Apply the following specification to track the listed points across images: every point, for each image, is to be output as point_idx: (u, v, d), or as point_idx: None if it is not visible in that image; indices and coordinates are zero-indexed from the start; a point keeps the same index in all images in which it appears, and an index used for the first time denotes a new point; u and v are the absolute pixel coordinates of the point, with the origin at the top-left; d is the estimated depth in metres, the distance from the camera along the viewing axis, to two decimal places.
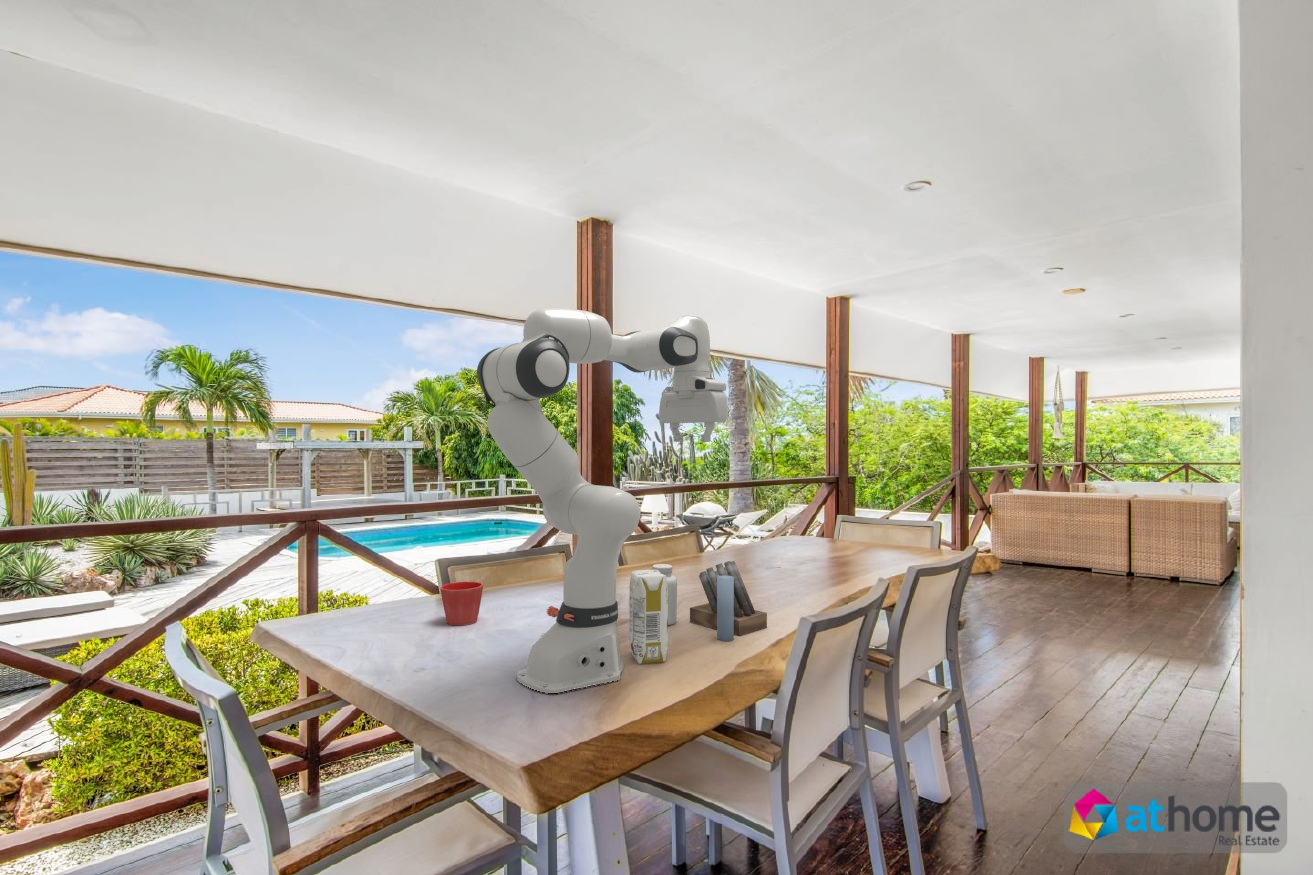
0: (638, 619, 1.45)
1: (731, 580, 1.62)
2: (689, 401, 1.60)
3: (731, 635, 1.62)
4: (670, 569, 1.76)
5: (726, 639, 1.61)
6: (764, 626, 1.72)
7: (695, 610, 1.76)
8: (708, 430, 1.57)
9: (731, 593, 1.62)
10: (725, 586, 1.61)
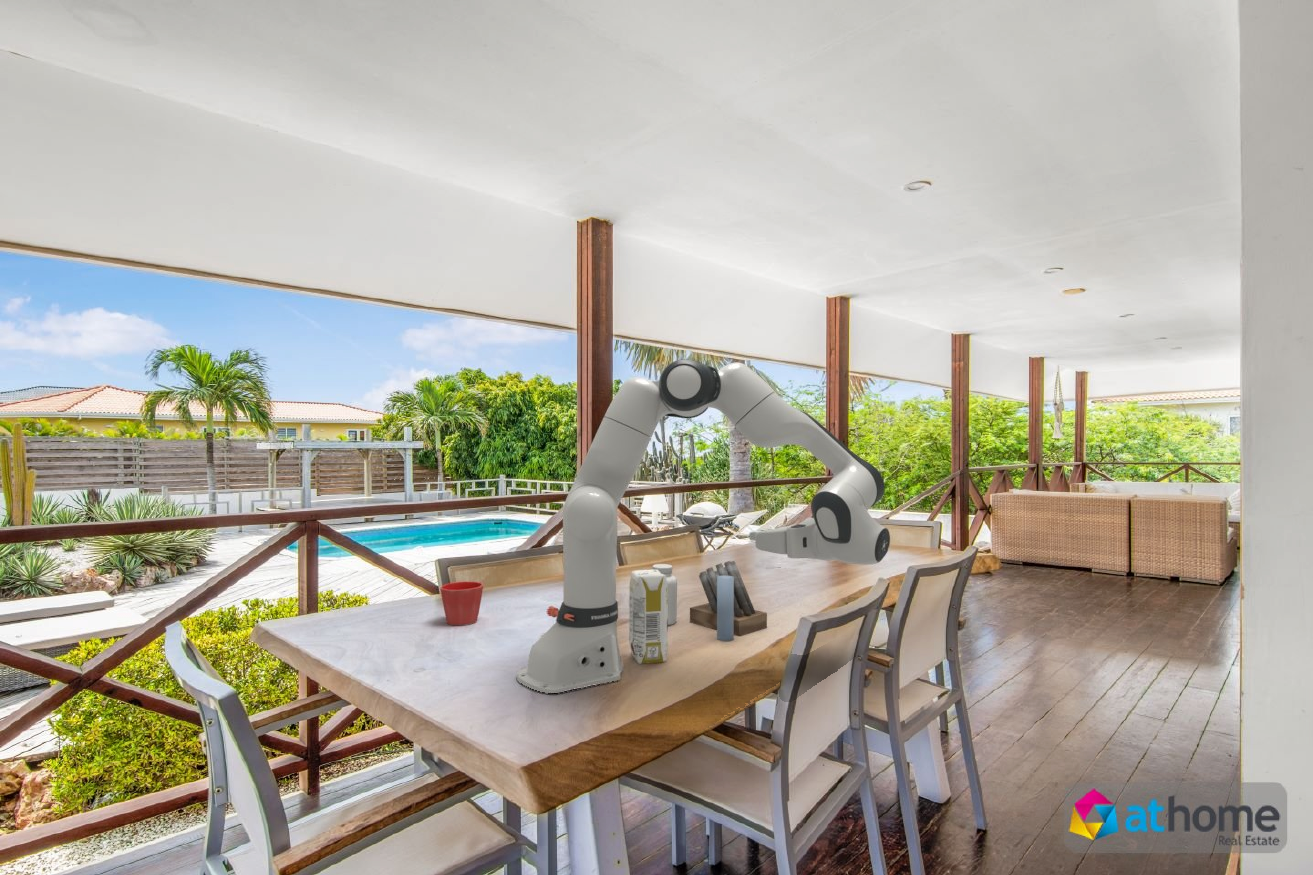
0: (638, 619, 1.45)
1: (731, 580, 1.62)
2: None
3: (731, 635, 1.62)
4: (670, 569, 1.76)
5: (726, 639, 1.61)
6: (764, 626, 1.72)
7: (695, 610, 1.76)
8: None
9: (731, 593, 1.62)
10: (725, 586, 1.61)
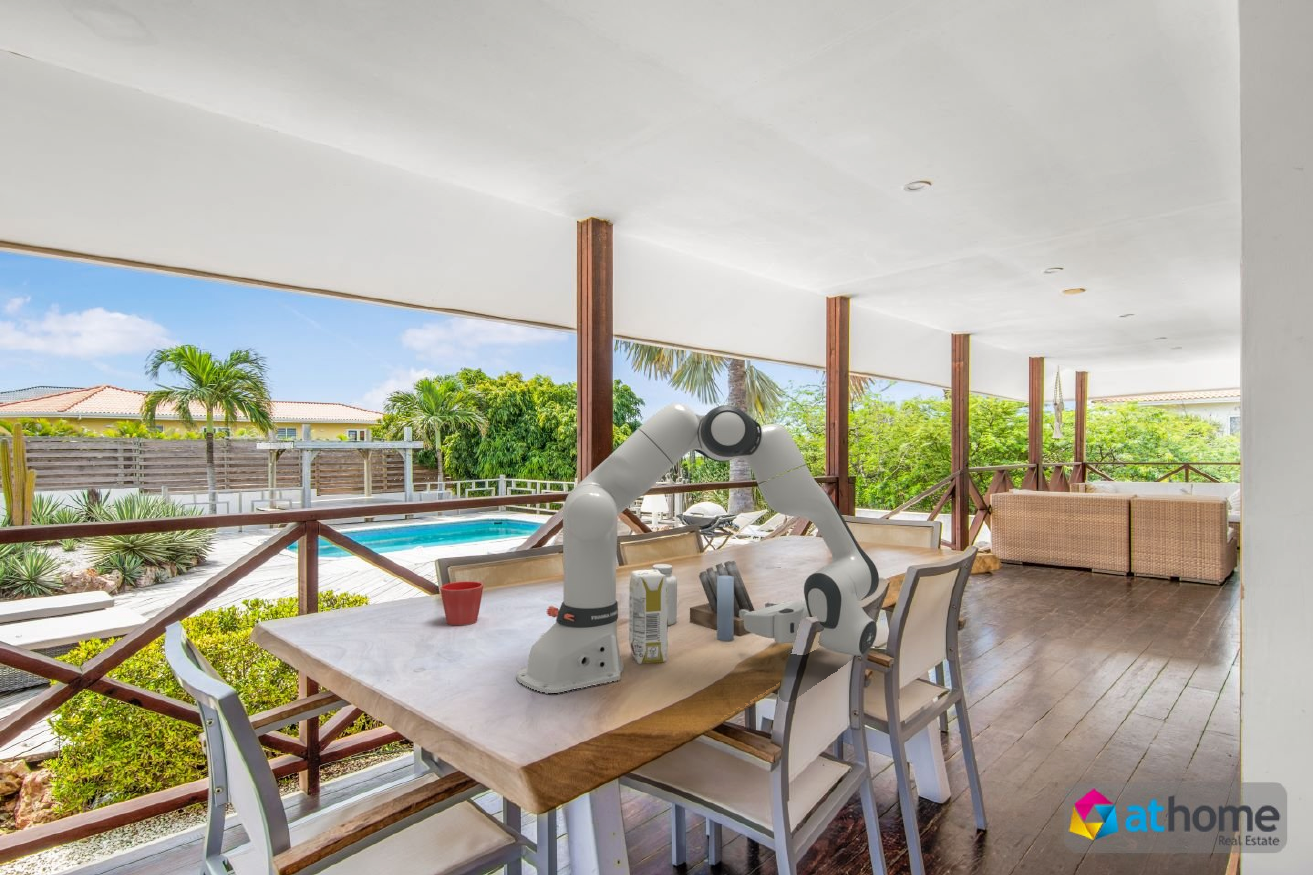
0: (638, 619, 1.45)
1: (731, 580, 1.62)
2: None
3: (731, 635, 1.62)
4: (670, 569, 1.76)
5: (726, 639, 1.61)
6: None
7: (695, 610, 1.76)
8: None
9: (731, 593, 1.62)
10: (725, 586, 1.61)
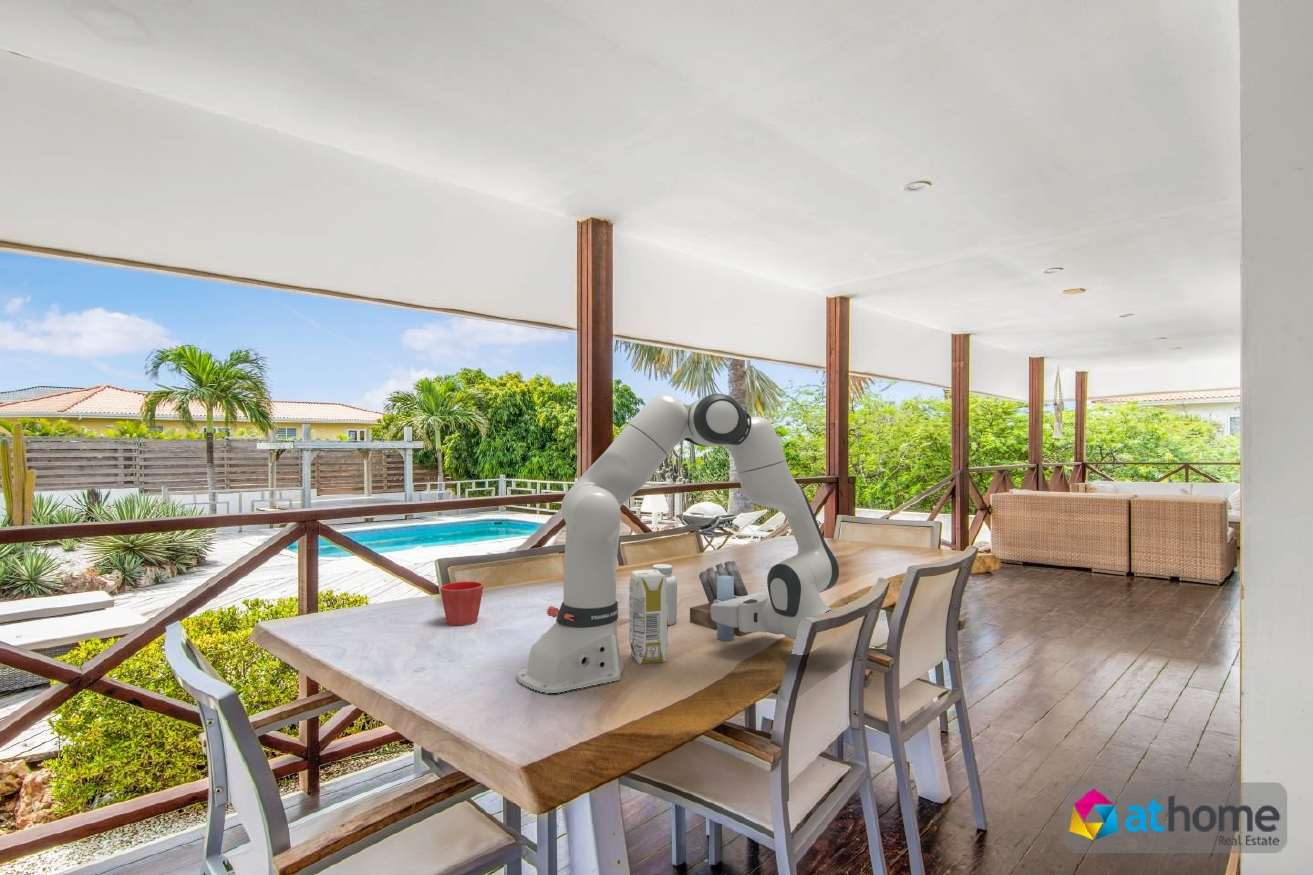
0: (638, 619, 1.45)
1: (731, 580, 1.62)
2: None
3: (731, 635, 1.62)
4: (670, 569, 1.76)
5: (726, 639, 1.61)
6: None
7: (695, 610, 1.76)
8: None
9: (731, 593, 1.62)
10: (725, 586, 1.61)
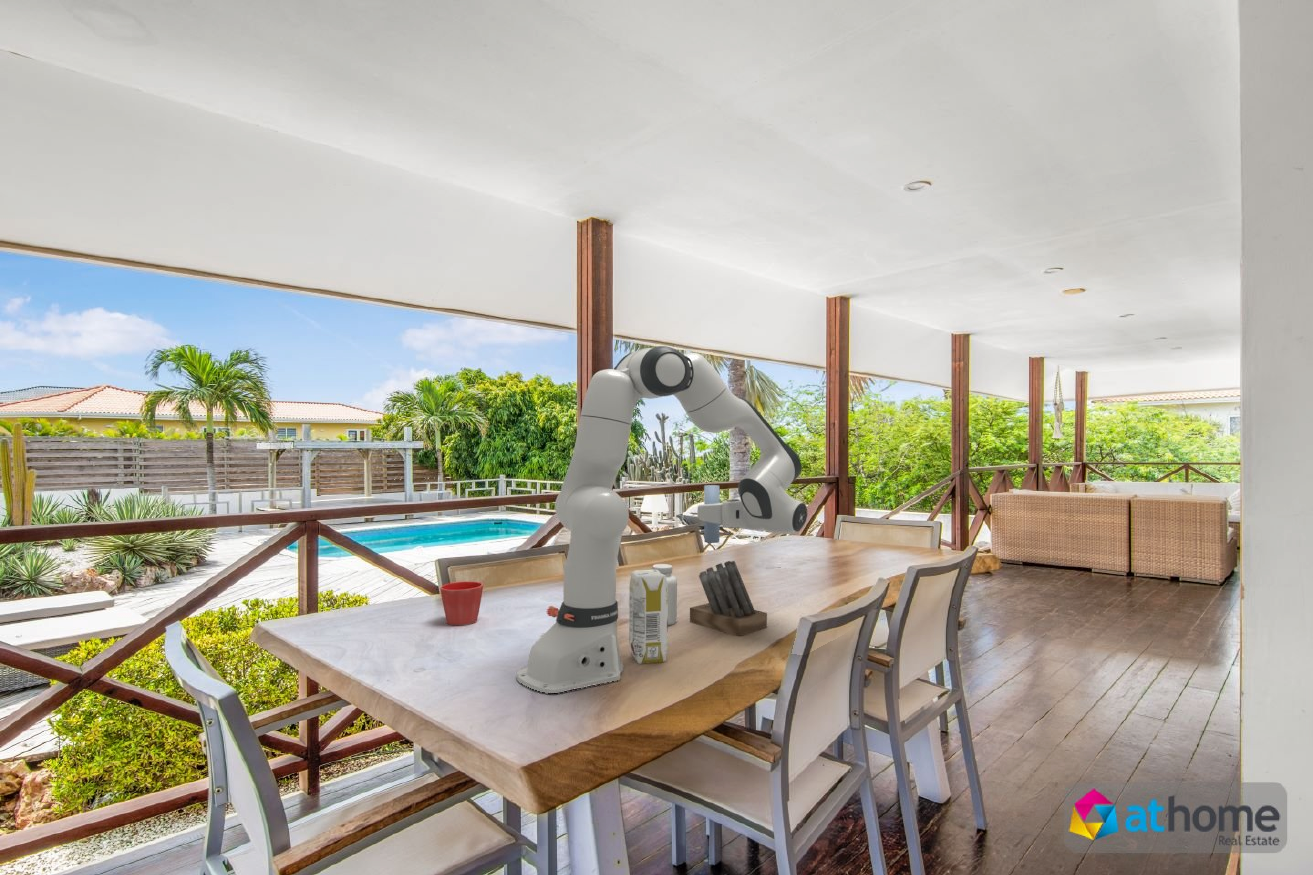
0: (638, 619, 1.45)
1: (717, 488, 1.77)
2: None
3: (717, 538, 1.77)
4: (670, 569, 1.76)
5: (712, 541, 1.77)
6: (764, 626, 1.72)
7: (695, 610, 1.76)
8: None
9: (717, 499, 1.77)
10: (711, 492, 1.77)
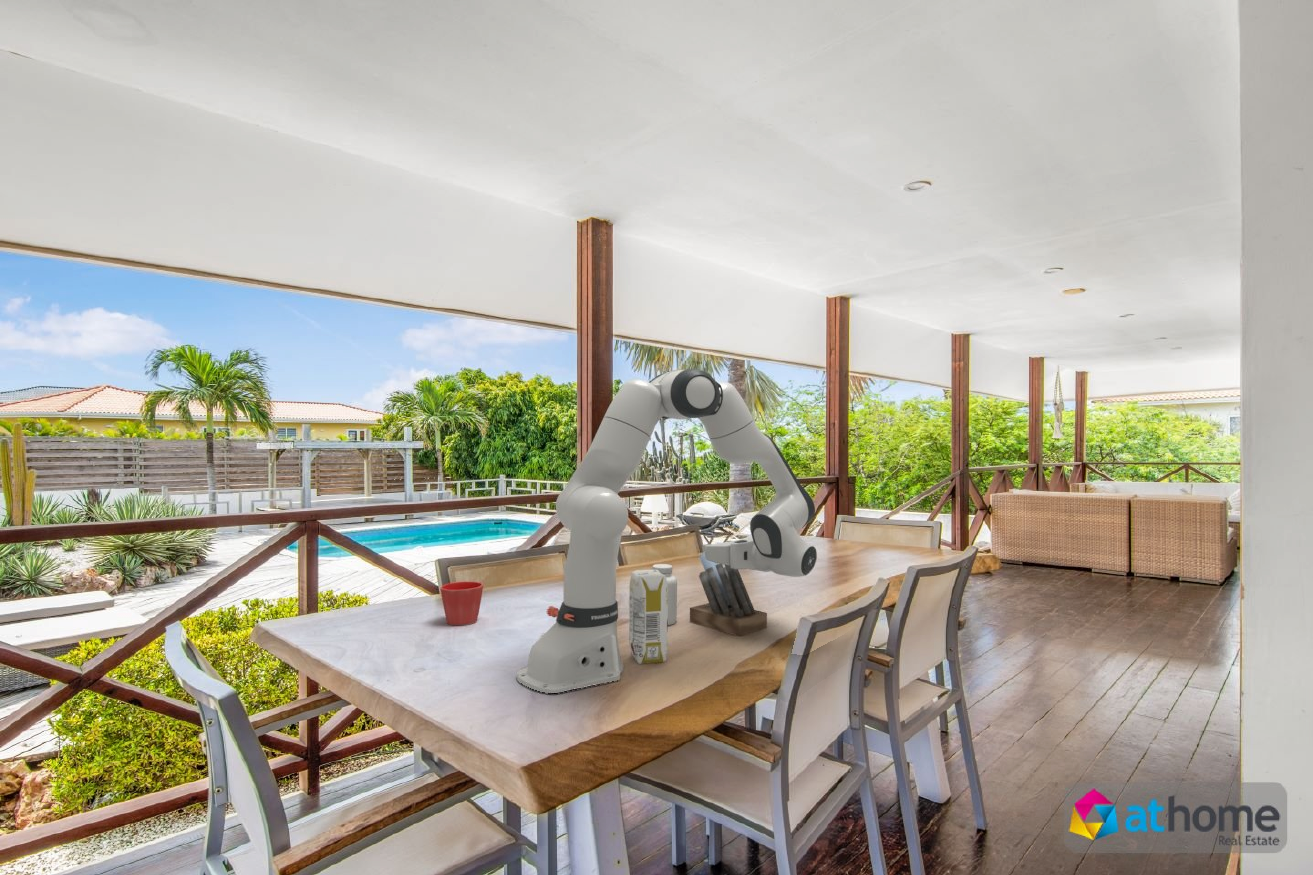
0: (638, 619, 1.45)
1: None
2: None
3: None
4: (670, 569, 1.76)
5: (727, 603, 1.73)
6: (764, 626, 1.72)
7: (695, 610, 1.76)
8: None
9: (715, 563, 1.78)
10: None
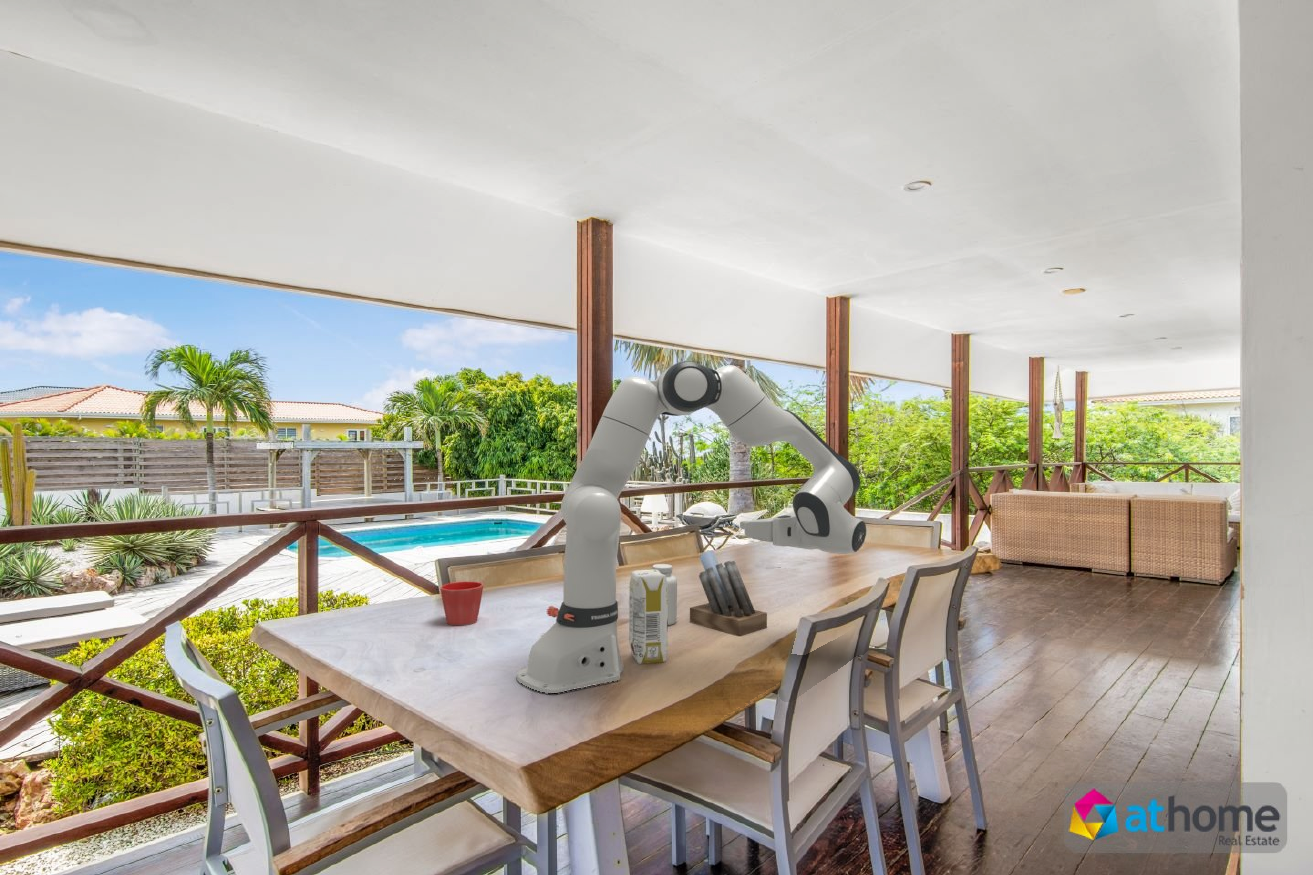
0: (638, 619, 1.45)
1: (711, 552, 1.79)
2: None
3: None
4: (670, 569, 1.76)
5: (727, 603, 1.73)
6: (764, 626, 1.72)
7: (695, 610, 1.76)
8: None
9: (715, 563, 1.78)
10: (707, 558, 1.78)
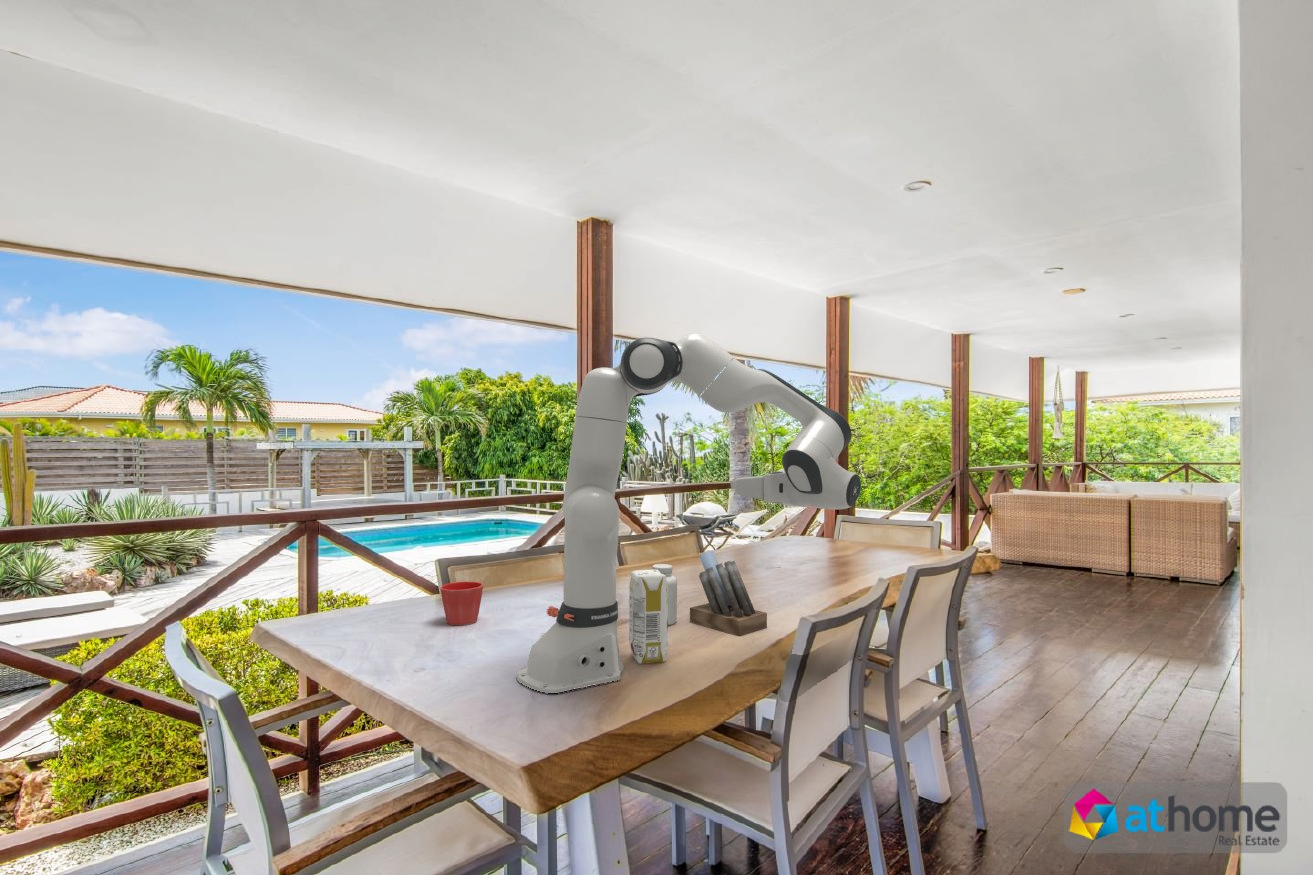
0: (638, 619, 1.45)
1: (711, 552, 1.79)
2: None
3: None
4: (670, 569, 1.76)
5: (727, 603, 1.73)
6: (764, 626, 1.72)
7: (695, 610, 1.76)
8: None
9: (715, 563, 1.78)
10: (707, 558, 1.78)
